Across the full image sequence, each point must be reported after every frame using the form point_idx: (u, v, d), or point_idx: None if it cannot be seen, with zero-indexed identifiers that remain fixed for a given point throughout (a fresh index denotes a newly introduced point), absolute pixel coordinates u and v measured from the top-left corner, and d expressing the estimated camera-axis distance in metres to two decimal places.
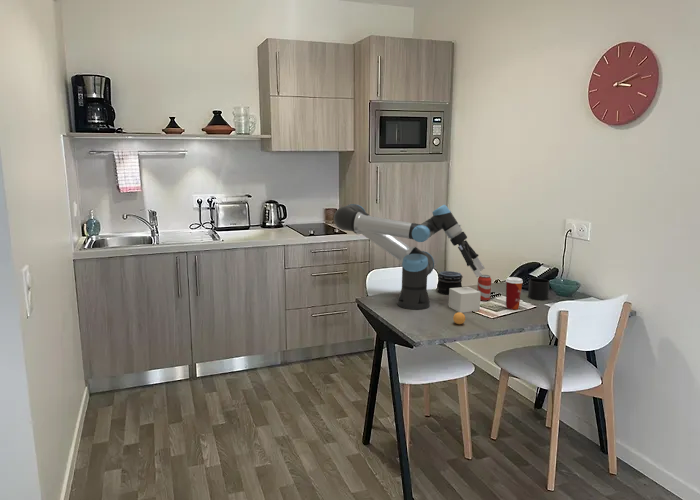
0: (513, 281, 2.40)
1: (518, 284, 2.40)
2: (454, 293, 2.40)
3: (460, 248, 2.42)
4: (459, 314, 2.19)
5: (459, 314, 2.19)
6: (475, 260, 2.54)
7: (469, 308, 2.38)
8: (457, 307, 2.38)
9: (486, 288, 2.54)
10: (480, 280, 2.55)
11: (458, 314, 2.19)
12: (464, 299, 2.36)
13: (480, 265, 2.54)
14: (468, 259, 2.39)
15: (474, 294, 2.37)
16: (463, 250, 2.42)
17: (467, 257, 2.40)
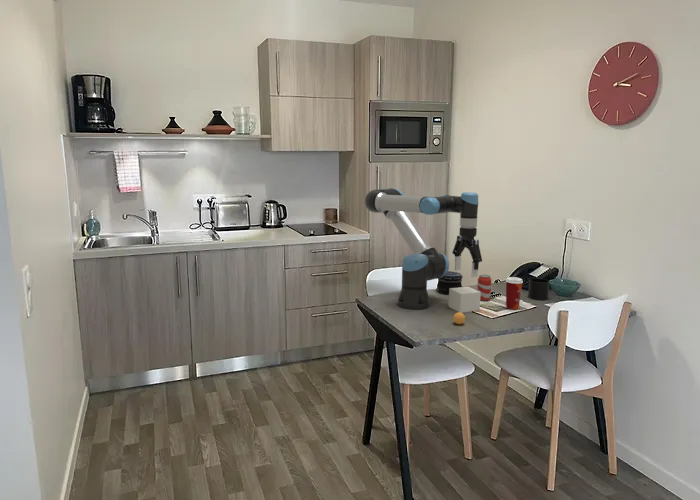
0: (513, 281, 2.40)
1: (518, 284, 2.40)
2: (454, 293, 2.40)
3: (475, 242, 2.31)
4: (459, 314, 2.19)
5: (459, 314, 2.19)
6: (458, 258, 2.45)
7: (469, 308, 2.38)
8: (457, 307, 2.38)
9: (486, 288, 2.54)
10: (480, 280, 2.55)
11: (458, 314, 2.19)
12: (464, 299, 2.36)
13: (458, 264, 2.46)
14: (479, 257, 2.30)
15: (474, 294, 2.37)
16: (477, 246, 2.31)
17: (479, 254, 2.30)
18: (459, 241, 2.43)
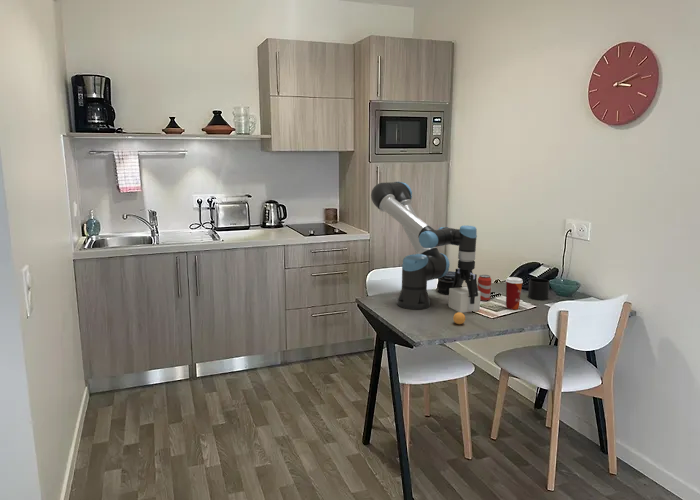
0: (513, 281, 2.40)
1: (518, 284, 2.40)
2: (454, 293, 2.40)
3: (473, 277, 2.33)
4: (459, 314, 2.19)
5: (459, 314, 2.19)
6: None
7: None
8: (457, 307, 2.38)
9: (486, 288, 2.54)
10: (480, 280, 2.55)
11: (458, 314, 2.19)
12: (464, 299, 2.36)
13: None
14: (476, 292, 2.33)
15: None
16: (474, 280, 2.34)
17: (475, 289, 2.34)
18: (458, 274, 2.45)
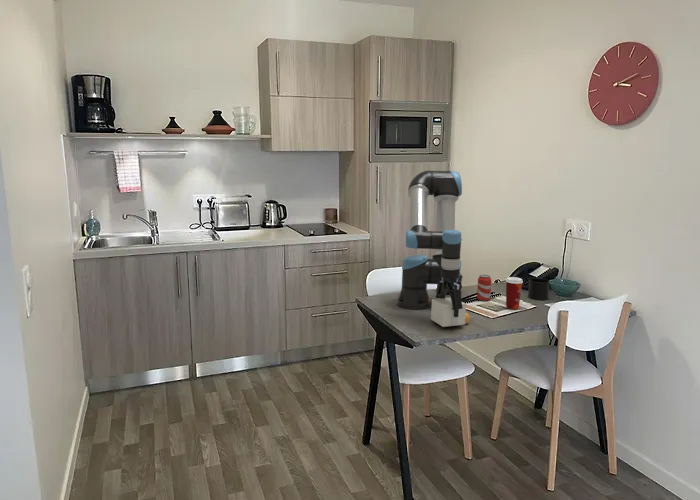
0: (513, 281, 2.40)
1: (518, 284, 2.40)
2: (436, 304, 2.17)
3: (457, 287, 2.10)
4: (467, 313, 2.20)
5: (467, 313, 2.20)
6: None
7: None
8: (440, 321, 2.14)
9: (486, 288, 2.54)
10: (480, 280, 2.55)
11: (466, 313, 2.20)
12: (447, 312, 2.12)
13: None
14: (460, 304, 2.10)
15: None
16: (458, 291, 2.10)
17: (459, 301, 2.10)
18: (441, 283, 2.21)
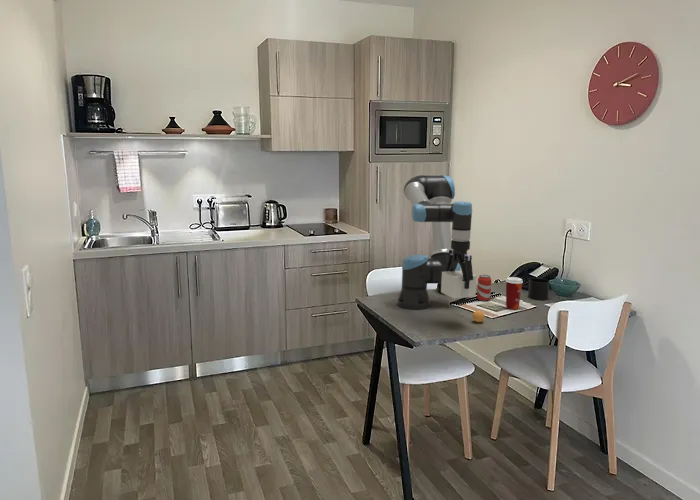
0: (513, 281, 2.40)
1: (518, 284, 2.40)
2: (447, 276, 2.16)
3: (468, 259, 2.09)
4: None
5: None
6: None
7: None
8: (450, 293, 2.14)
9: (486, 288, 2.54)
10: (480, 280, 2.55)
11: None
12: (458, 283, 2.11)
13: None
14: (471, 275, 2.09)
15: None
16: (469, 262, 2.09)
17: (470, 272, 2.09)
18: (451, 256, 2.21)
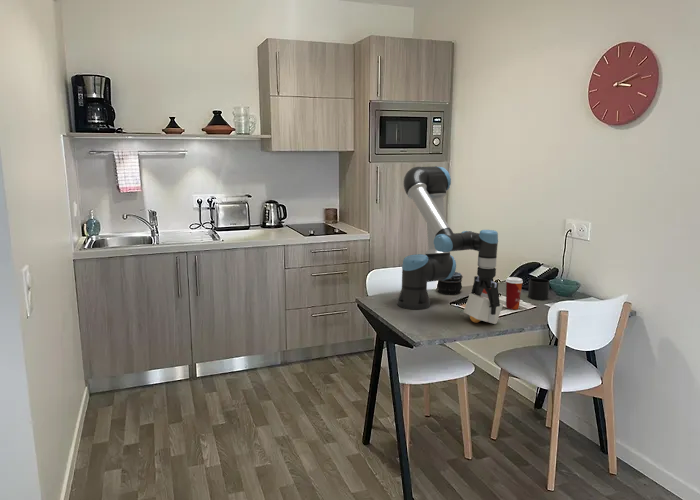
0: (513, 281, 2.40)
1: (518, 284, 2.40)
2: (474, 298, 2.22)
3: (494, 286, 2.16)
4: (478, 321, 2.23)
5: None
6: None
7: (486, 317, 2.19)
8: (475, 313, 2.19)
9: None
10: None
11: None
12: (485, 306, 2.18)
13: None
14: (497, 301, 2.16)
15: None
16: (496, 289, 2.16)
17: (497, 299, 2.16)
18: (477, 282, 2.27)
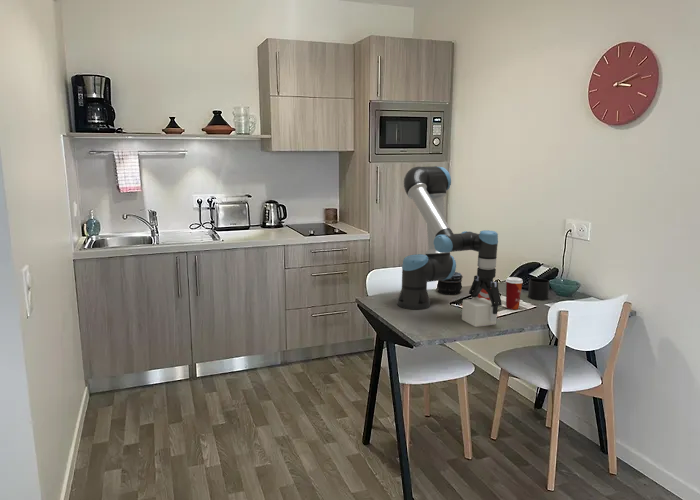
0: (513, 281, 2.40)
1: (518, 284, 2.40)
2: (468, 305, 2.22)
3: (494, 285, 2.16)
4: None
5: None
6: None
7: (484, 321, 2.19)
8: (472, 321, 2.20)
9: None
10: None
11: None
12: (479, 312, 2.17)
13: None
14: (499, 300, 2.15)
15: (490, 306, 2.19)
16: (496, 288, 2.16)
17: (498, 298, 2.15)
18: (476, 281, 2.28)
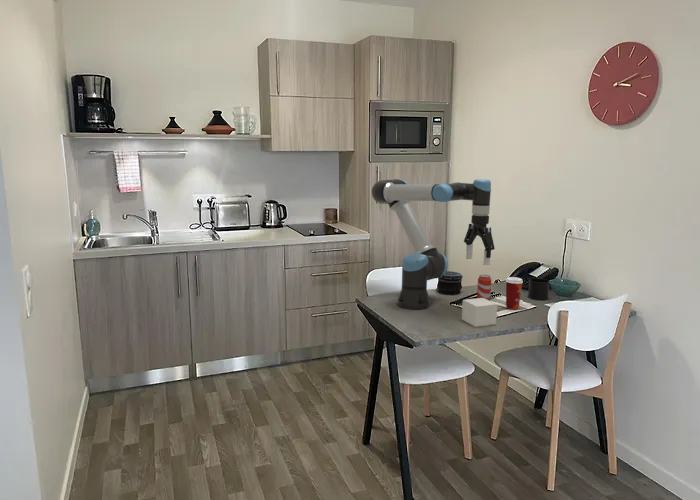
0: (513, 281, 2.40)
1: (518, 284, 2.40)
2: (468, 305, 2.22)
3: (488, 230, 2.27)
4: None
5: None
6: (469, 247, 2.41)
7: (484, 321, 2.19)
8: (472, 321, 2.20)
9: (486, 288, 2.54)
10: (480, 280, 2.55)
11: None
12: (479, 312, 2.17)
13: (470, 253, 2.42)
14: (492, 244, 2.26)
15: (490, 306, 2.19)
16: (489, 233, 2.27)
17: (491, 242, 2.26)
18: (471, 229, 2.39)
